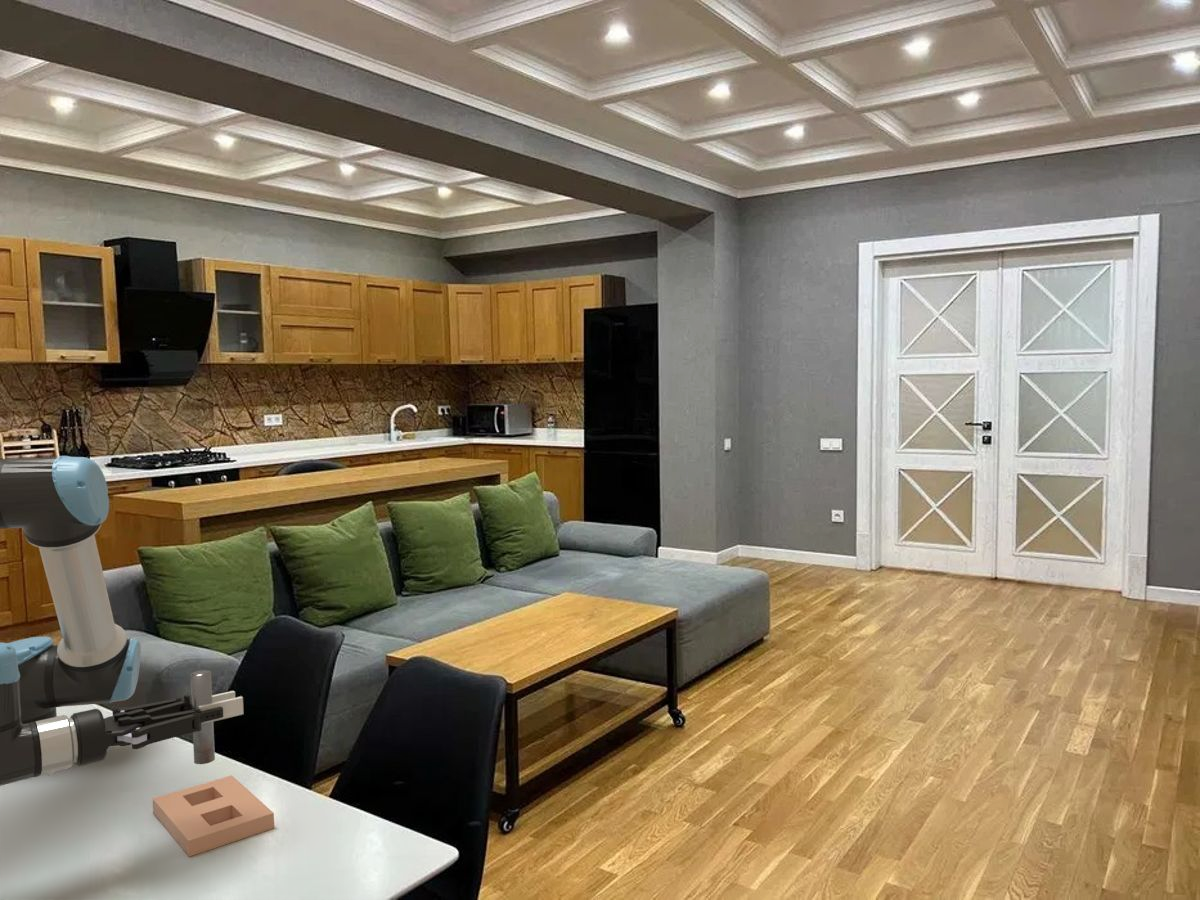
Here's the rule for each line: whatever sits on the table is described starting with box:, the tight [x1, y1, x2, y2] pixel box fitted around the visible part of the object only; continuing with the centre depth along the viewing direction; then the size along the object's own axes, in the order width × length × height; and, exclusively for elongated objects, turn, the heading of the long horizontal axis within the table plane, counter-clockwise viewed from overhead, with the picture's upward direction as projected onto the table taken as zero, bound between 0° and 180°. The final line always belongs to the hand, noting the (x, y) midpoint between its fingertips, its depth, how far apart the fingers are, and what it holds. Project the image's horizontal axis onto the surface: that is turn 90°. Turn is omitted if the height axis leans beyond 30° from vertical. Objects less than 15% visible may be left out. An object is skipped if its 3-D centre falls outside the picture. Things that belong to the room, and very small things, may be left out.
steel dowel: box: [189, 669, 216, 765], centre depth 141 cm, size 3×3×14 cm
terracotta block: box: [152, 774, 275, 858], centre depth 147 cm, size 19×13×2 cm
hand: (238, 702), depth 145 cm, fingers closed on steel dowel, 3 cm apart
